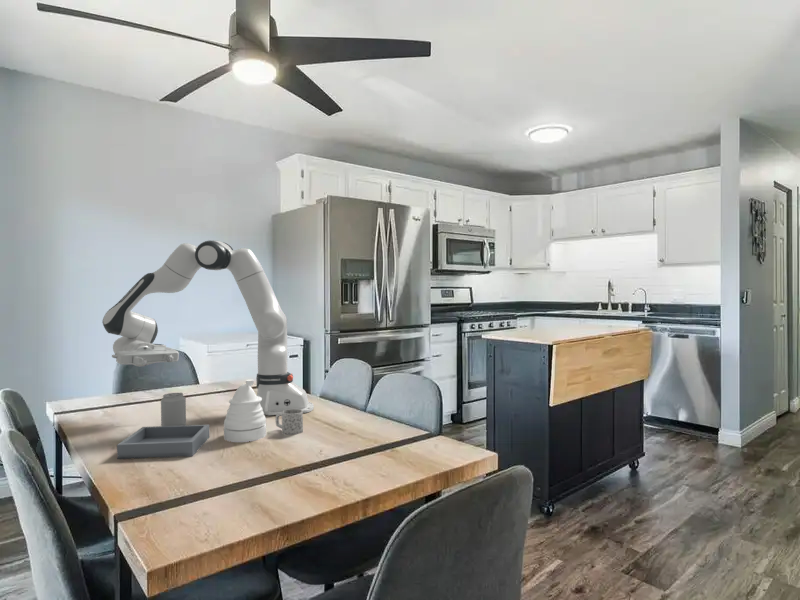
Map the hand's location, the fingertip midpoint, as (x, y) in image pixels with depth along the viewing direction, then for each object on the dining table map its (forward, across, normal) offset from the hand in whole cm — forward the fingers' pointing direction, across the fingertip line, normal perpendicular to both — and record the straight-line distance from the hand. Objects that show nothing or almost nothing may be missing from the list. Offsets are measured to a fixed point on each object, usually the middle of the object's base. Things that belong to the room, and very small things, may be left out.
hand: (158, 360), depth 176 cm
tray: (+29, -10, +20) cm, 37 cm away
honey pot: (+37, +12, +18) cm, 43 cm away
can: (+13, +1, +21) cm, 25 cm away
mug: (+44, +24, +17) cm, 53 cm away
